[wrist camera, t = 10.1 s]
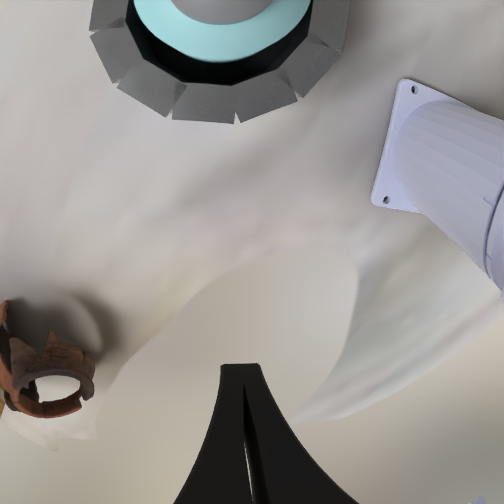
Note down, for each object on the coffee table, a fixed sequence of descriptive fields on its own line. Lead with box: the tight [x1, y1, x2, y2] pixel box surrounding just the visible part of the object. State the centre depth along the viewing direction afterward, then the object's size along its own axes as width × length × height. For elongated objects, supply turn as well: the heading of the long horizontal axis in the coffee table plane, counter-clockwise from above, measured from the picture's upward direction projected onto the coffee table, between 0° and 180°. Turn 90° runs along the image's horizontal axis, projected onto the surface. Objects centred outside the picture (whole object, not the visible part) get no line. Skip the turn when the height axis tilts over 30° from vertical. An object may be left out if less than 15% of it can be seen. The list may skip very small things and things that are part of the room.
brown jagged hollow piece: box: [0, 300, 95, 418], centre depth 20 cm, size 12×10×8 cm
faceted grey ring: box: [89, 0, 351, 124], centre depth 10 cm, size 10×10×4 cm
